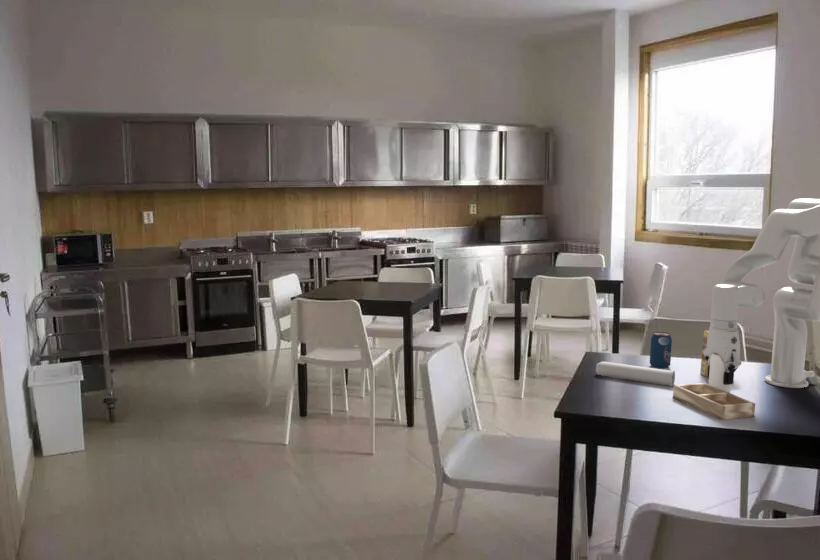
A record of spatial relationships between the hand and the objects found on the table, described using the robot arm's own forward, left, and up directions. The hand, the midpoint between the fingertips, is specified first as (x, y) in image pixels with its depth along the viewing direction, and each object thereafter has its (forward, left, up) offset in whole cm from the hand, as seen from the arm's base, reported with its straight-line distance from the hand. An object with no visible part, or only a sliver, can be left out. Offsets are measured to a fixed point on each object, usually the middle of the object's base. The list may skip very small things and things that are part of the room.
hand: (720, 380), depth 220 cm
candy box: (-12, -17, -4) cm, 21 cm away
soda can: (0, -31, -4) cm, 31 cm away
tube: (+18, -19, -4) cm, 26 cm away
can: (0, 0, -3) cm, 3 cm away
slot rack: (+13, +12, -4) cm, 18 cm away
